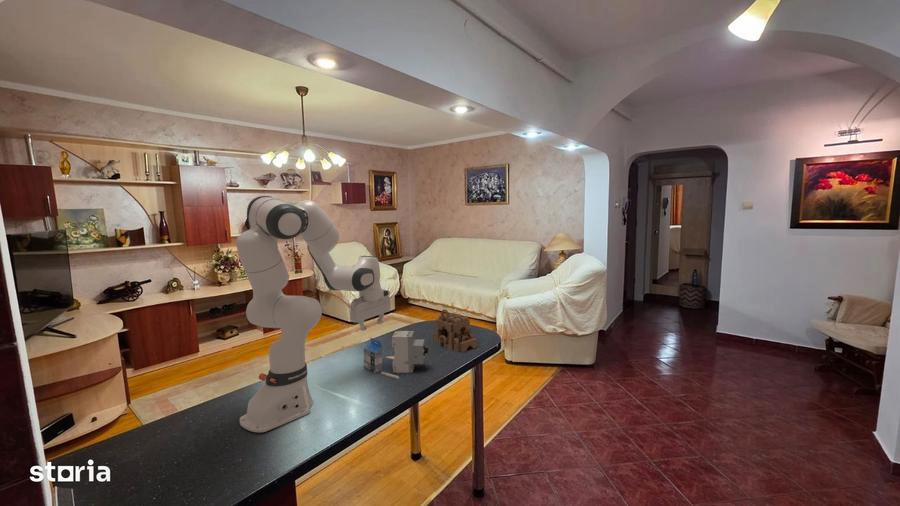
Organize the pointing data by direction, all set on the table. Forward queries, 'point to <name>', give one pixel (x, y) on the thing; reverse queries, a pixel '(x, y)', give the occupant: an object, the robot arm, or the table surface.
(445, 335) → the wooden puzzle
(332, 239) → the robot arm
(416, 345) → the circuit breaker
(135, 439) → the table surface
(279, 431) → the table surface
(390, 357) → the cork pad
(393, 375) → the peg
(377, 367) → the label tape box
